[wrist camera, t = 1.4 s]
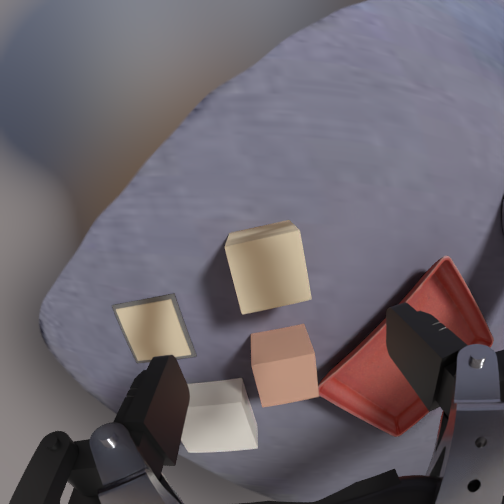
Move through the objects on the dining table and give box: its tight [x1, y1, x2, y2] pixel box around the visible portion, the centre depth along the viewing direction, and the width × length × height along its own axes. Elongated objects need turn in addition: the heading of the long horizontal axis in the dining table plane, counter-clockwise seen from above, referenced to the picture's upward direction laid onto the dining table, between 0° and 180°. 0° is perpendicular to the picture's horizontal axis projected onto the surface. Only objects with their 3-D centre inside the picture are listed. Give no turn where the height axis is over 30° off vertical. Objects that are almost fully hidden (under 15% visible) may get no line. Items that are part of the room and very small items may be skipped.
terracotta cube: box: [251, 324, 319, 407], centre depth 24 cm, size 5×5×5 cm
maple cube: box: [225, 220, 311, 314], centre depth 21 cm, size 5×5×5 cm
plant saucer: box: [318, 256, 494, 437], centre depth 26 cm, size 18×18×3 cm
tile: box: [112, 293, 197, 363], centre depth 25 cm, size 7×7×1 cm
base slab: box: [181, 378, 258, 453], centre depth 26 cm, size 8×8×4 cm
